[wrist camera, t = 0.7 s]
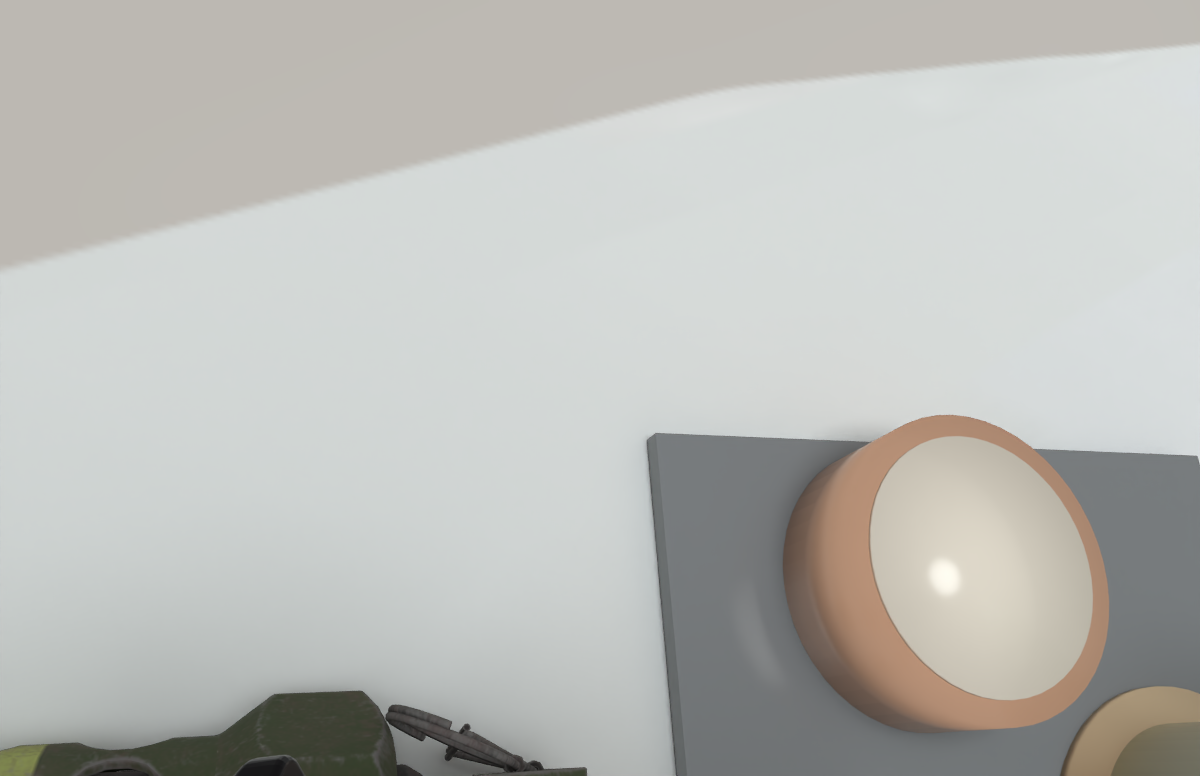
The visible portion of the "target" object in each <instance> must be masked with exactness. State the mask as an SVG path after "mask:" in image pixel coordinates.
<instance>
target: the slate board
mask: <svg viewBox="0 0 1200 776" xmlns="http://www.w3.org/2000/svg"><path fill="white" fill-rule="evenodd" d="M869 443H871V442H855V441H831V440H808V439H784V438H760V437H736V436H712V435H689V434H665V433H655V434H654V435H653V436H652V437H650V438H649V439H648V440H647V444H648V455H649V466H650V478H651V489H652V500H653V512H654V523H655V534H656V546H657V557H658V568H659V579H660V591H661V602H662V613H663V625H664V636H665V647H666V659H667V670H668V681H669V692H670V704H671V715H672V726H673V738H674V749H675V760H676V772H677V776H1060V774H1061V770H1062V767H1063V763H1064V760H1065V758H1066V755H1067V753H1068V750H1069V748H1070V745H1071V743H1072V741H1073V740H1074V738H1075V736H1076V734H1077V733H1078V731H1079V729H1080V728H1081V726H1082V725H1083V724H1084V723H1085V721H1086V720H1087V719H1088V718H1089V716H1090V715H1091V714H1092V713H1093V712H1094V711H1095V710H1097V709H1098V708H1099V707H1100V706H1101V705H1102V704H1104V703H1105V702H1107V701H1108V700H1110V699H1112V698H1113V697H1115V696H1117V695H1119V694H1122V693H1124V692H1127V691H1130V690H1133V689H1139V688H1146V687H1154V686H1166V687H1177V688H1182V689H1187V690H1191V691H1193V692H1196V693H1199V694H1200V464H1199V460H1198V457H1197V456H1188V455H1164V454H1140V453H1117V452H1093V451H1069V450H1045V449H1034V450H1035V451H1036V452H1037V453H1038V454H1039V455H1041V456H1042V457H1043V458H1044V459H1045V460H1046V461H1047V462H1048V463H1049V464H1050V465H1051V466H1052V467H1053V468H1054V470H1055V471H1056V472H1057V473H1058V474H1059V475H1060V476H1061V478H1062V479H1063V480H1064V482H1065V483H1066V484H1067V485H1068V487H1069V488H1070V489H1071V491H1072V492H1073V494H1074V496H1075V497H1076V499H1077V500H1078V502H1079V504H1080V505H1081V507H1082V509H1083V511H1084V513H1085V515H1086V517H1087V519H1088V520H1089V522H1090V524H1091V527H1092V529H1093V532H1094V534H1095V537H1096V539H1097V542H1098V545H1099V548H1100V552H1101V555H1102V558H1103V562H1104V567H1105V572H1106V577H1107V583H1108V594H1109V623H1108V631H1107V639H1106V643H1105V646H1104V650H1103V654H1102V657H1101V660H1100V662H1099V665H1098V667H1097V670H1096V672H1095V674H1094V676H1093V677H1092V679H1091V681H1090V682H1089V684H1088V686H1087V687H1086V689H1085V690H1084V691H1083V692H1082V693H1081V695H1080V696H1079V697H1078V698H1077V699H1076V701H1074V702H1073V703H1072V704H1071V705H1070V706H1069V707H1067V708H1066V709H1065V710H1064V711H1062V712H1061V713H1059V714H1057V715H1055V716H1054V717H1052V718H1050V719H1048V720H1046V721H1043V722H1040V723H1037V724H1034V725H1030V726H1024V727H1018V728H1005V729H990V730H975V731H959V732H944V733H915V732H909V731H903V730H899V729H896V728H893V727H890V726H887V725H884V724H882V723H880V722H878V721H876V720H874V719H872V718H870V717H868V716H867V715H865V714H864V713H862V712H861V711H859V710H858V709H856V708H855V707H853V706H852V705H851V704H850V703H848V702H847V701H846V700H845V699H844V698H843V697H842V696H840V695H839V694H838V693H837V692H836V691H835V690H834V689H833V687H832V686H831V685H830V684H829V683H828V682H827V681H826V680H825V679H824V677H823V676H822V675H821V673H820V672H819V670H818V669H817V668H816V666H815V665H814V664H813V662H812V661H811V659H810V657H809V655H808V653H807V652H806V650H805V648H804V646H803V645H802V643H801V640H800V638H799V636H798V633H797V631H796V629H795V626H794V624H793V620H792V617H791V614H790V611H789V607H788V603H787V598H786V592H785V587H784V576H783V551H784V543H785V537H786V531H787V527H788V524H789V521H790V518H791V514H792V512H793V510H794V508H795V506H796V503H797V501H798V499H799V498H800V496H801V494H802V493H803V491H804V490H805V488H806V487H807V485H808V484H809V483H810V482H811V481H812V480H813V479H814V478H815V477H816V475H817V474H818V473H820V472H821V471H822V470H823V469H825V468H826V467H827V466H828V465H830V464H832V463H833V462H835V461H837V460H839V459H841V458H842V457H844V456H846V455H848V454H850V453H852V452H854V451H856V450H857V449H859V448H861V447H863V446H865V445H867V444H869Z"/></svg>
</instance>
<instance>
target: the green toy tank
mask: <svg viewBox="0 0 1200 776" xmlns="http://www.w3.org/2000/svg"><path fill="white" fill-rule="evenodd" d="M386 720H387V721H388V723H389V724H391V725H392V726H394V727H395V728H397V729H399V730H401V731H402V732H404V733H406V734H408V735H410V736H412V737H414V738H416V739H418V740H420V741H424V739H425V737H426V736H428V737H430V738H433V739H435V740H437V741H439V742H441V743H443V744H446V745H448V746H449V747H448V748H447V749H446V753H447V754H446V755H445V760H447V761H450V759H451V758H452V757H457V758H461V759H465V760H469V761H474V762H478V763H482V764H486V765H491V766H495V767H499V768H503V769H504V771H506V772H504V773H492V774H478V775H473V776H587V769H586V768H585V767H582V768H563V769H544V768H543V766H542V765H541V763H540V762H537V761H531V762H529V763H527V762H525V761H524V760H523V758H522V757H520V756H517V755H513V754H511V753H509V752H507V751H506V750H504V749H502V748H500V747H499V746H497V745H495V744H493V743H492V742H490V741H488V740H486V739H485V738H483V737H481V736H479V735H478V734H476V733H474V732H471V731H469V730H470V725H469V724H465V725H464V726H463V727H462V729H461V730H460V731H459V733H458V732H455V731H453V730H450V727H451V724H452V721H449V720H447V719H444V718H441V717H439V716H436V715H433V714H430V713H427V712H424V711H421V710H418V709H414V708H411V707H407V706H402V705H391V706H390V707H389V710H388V713H387V714H386ZM386 720H385V719H384V717H383V715H382V713H381V711H380V710H379V708H378V706H377V705H376V704H375V703H374V702H373V701H372V700H371V699H370V698H369V697H368V696H367V695H366V694H365V693H364V692H363V691H342V692H316V693H290V694H274V695H272V696H271V697H269V698H268V699H267V700H265V701H264V702H263V703H261V704H260V705H259V706H257V707H256V708H255V709H253V710H252V711H251V712H250V713H248V714H247V715H246V716H244V717H243V718H242V719H240V720H239V721H238V722H236V723H235V724H234V725H232V726H231V727H230V728H229V729H227V730H226V731H225V732H223V733H221V734H219V735H215V736H200V737H181V738H172V739H169V740H166V741H163V742H160V743H156V744H153V745H149V746H145V747H140V748H135V749H125V750H104V749H96V748H91V747H88V746H85V745H83V744H80V743H62V744H43V745H23V746H17V747H13V748H10V749H6V750H2V751H0V776H234V775H235V774H236V772H237V771H238V770H239V769H240V768H241V767H242V766H243V765H244V764H245V763H247V762H248V761H250V760H252V759H255V758H260V757H269V756H278V755H289V756H291V757H293V758H294V759H296V761H297V762H298V764H299V765H300V767H301V769H302V771H303V773H304V774H305V776H422V775H421V774H420V773H418V772H417V771H415V770H413V769H412V768H410V767H408V766H407V765H403V764H400V765H396V754H395V748H394V742H393V737H392V734H391V731H390V729H389V726H388V724H387V722H386ZM457 750H459V751H457ZM123 770H137V771H123ZM117 771H123V772H117Z"/></svg>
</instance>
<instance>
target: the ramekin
mask: <svg viewBox="0 0 1200 776" xmlns="http://www.w3.org/2000/svg"><path fill="white" fill-rule="evenodd" d="M783 576H784V587H785V592H786V598H787V603H788V607H789V611H790V614H791V617H792V620H793V624H794V626H795V629H796V631H797V633H798V636H799V638H800V640H801V643H802V645H803V646H804V648H805V650H806V652H807V653H808V655H809V657H810V659H811V661H812V662H813V664H814V665H815V666H816V668H817V669H818V670H819V672H820V673H821V675H822V676H823V677H824V679H825V680H826V681H827V682H828V683H829V684H830V685H831V686H832V687H833V689H834V690H835V691H836V692H837V693H838V694H839V695H840V696H842V697H843V698H844V699H845V700H846V701H847V702H848V703H850V704H851V705H852V706H853V707H855V708H856V709H858V710H859V711H861V712H862V713H864V714H865V715H867V716H868V717H870V718H872V719H874V720H876V721H878V722H880V723H882V724H884V725H887V726H890V727H893V728H896V729H899V730H903V731H909V732H915V733H944V732H959V731H975V730H990V729H1005V728H1018V727H1024V726H1030V725H1034V724H1037V723H1040V722H1043V721H1046V720H1048V719H1050V718H1052V717H1054V716H1055V715H1057V714H1059V713H1061V712H1062V711H1064V710H1065V709H1066V708H1067V707H1069V706H1070V705H1071V704H1072V703H1073V702H1074V701H1076V699H1077V698H1078V697H1079V696H1080V695H1081V693H1082V692H1083V691H1084V690H1085V689H1086V687H1087V686H1088V684H1089V682H1090V681H1091V679H1092V677H1093V676H1094V674H1095V672H1096V670H1097V667H1098V665H1099V662H1100V660H1101V657H1102V654H1103V650H1104V646H1105V643H1106V639H1107V631H1108V623H1109V594H1108V583H1107V577H1106V572H1105V567H1104V562H1103V558H1102V555H1101V552H1100V548H1099V545H1098V542H1097V539H1096V537H1095V534H1094V532H1093V529H1092V527H1091V524H1090V522H1089V520H1088V519H1087V517H1086V515H1085V513H1084V511H1083V509H1082V507H1081V505H1080V504H1079V502H1078V500H1077V499H1076V497H1075V496H1074V494H1073V492H1072V491H1071V489H1070V488H1069V487H1068V485H1067V484H1066V483H1065V482H1064V480H1063V479H1062V478H1061V476H1060V475H1059V474H1058V473H1057V472H1056V471H1055V470H1054V468H1053V467H1052V466H1051V465H1050V464H1049V463H1048V462H1047V461H1046V460H1045V459H1044V458H1043V457H1042V456H1041V455H1039V454H1038V453H1037V452H1036V451H1035V450H1034V449H1033V448H1031V447H1030V446H1029V445H1027V444H1026V443H1024V442H1023V441H1022V440H1020V439H1019V438H1017V437H1016V436H1014V435H1012V434H1011V433H1009V432H1007V431H1005V430H1003V429H1002V428H1000V427H997V426H995V425H992V424H990V423H987V422H985V421H981V420H978V419H974V418H970V417H964V416H956V415H936V416H931V417H925V418H921V419H918V420H915V421H912V422H909V423H907V424H905V425H903V426H901V427H899V428H897V429H895V430H893V431H892V432H890V433H888V434H886V435H884V436H882V437H880V438H878V439H876V440H875V441H873V442H871V443H869V444H867V445H865V446H863V447H861V448H859V449H857V450H856V451H854V452H852V453H850V454H848V455H846V456H844V457H842V458H841V459H839V460H837V461H835V462H833V463H832V464H830V465H828V466H827V467H826V468H825V469H823V470H822V471H821V472H820V473H818V474H817V475H816V477H815V478H814V479H813V480H812V481H811V482H810V483H809V484H808V485H807V487H806V488H805V490H804V491H803V493H802V494H801V496H800V498H799V499H798V501H797V503H796V506H795V508H794V510H793V512H792V514H791V518H790V521H789V524H788V527H787V531H786V537H785V543H784V551H783Z"/></svg>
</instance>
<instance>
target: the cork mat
mask: <svg viewBox="0 0 1200 776" xmlns="http://www.w3.org/2000/svg"><path fill="white" fill-rule="evenodd" d="M1185 722H1200V694H1199V693H1196V692H1193V691H1191V690H1187V689H1182V688H1177V687H1166V686H1154V687H1146V688H1139V689H1133V690H1130V691H1127V692H1124V693H1122V694H1119V695H1117V696H1115V697H1113V698H1112V699H1110V700H1108V701H1107V702H1105V703H1104V704H1102V705H1101V706H1100V707H1099V708H1098V709H1097V710H1095V711H1094V712H1093V713H1092V714H1091V715H1090V716H1089V718H1088V719H1087V720H1086V721H1085V723H1084V724H1083V725H1082V726H1081V728H1080V729H1079V731H1078V733H1077V734H1076V736H1075V738H1074V740H1073V741H1072V743H1071V745H1070V748H1069V750H1068V753H1067V755H1066V758H1065V760H1064V763H1063V767H1062V770H1061V774H1060V776H1111V773H1112V771H1113V768H1114V765H1115V763H1116V761H1117V759H1118V757H1119V756H1120V754H1121V752H1122V751H1123V749H1124V748H1125V747H1126V745H1127V744H1128V743H1129V742H1130V741H1131V740H1132V739H1133V738H1134V737H1135V736H1136V735H1138V734H1139V733H1141V732H1142V731H1144V730H1146V729H1148V728H1151V727H1153V726H1156V725H1161V724H1169V723H1185Z"/></svg>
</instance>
